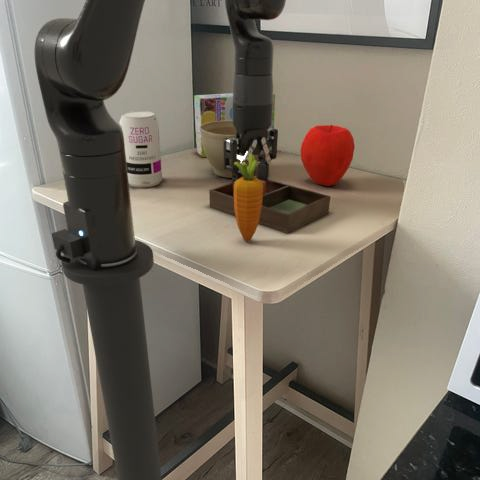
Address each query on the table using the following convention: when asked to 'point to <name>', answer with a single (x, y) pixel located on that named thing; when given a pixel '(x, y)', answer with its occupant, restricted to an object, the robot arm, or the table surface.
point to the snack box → (215, 113)
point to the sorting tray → (278, 205)
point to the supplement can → (142, 148)
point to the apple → (327, 153)
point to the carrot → (247, 199)
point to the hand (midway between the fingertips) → (250, 186)
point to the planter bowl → (218, 144)
